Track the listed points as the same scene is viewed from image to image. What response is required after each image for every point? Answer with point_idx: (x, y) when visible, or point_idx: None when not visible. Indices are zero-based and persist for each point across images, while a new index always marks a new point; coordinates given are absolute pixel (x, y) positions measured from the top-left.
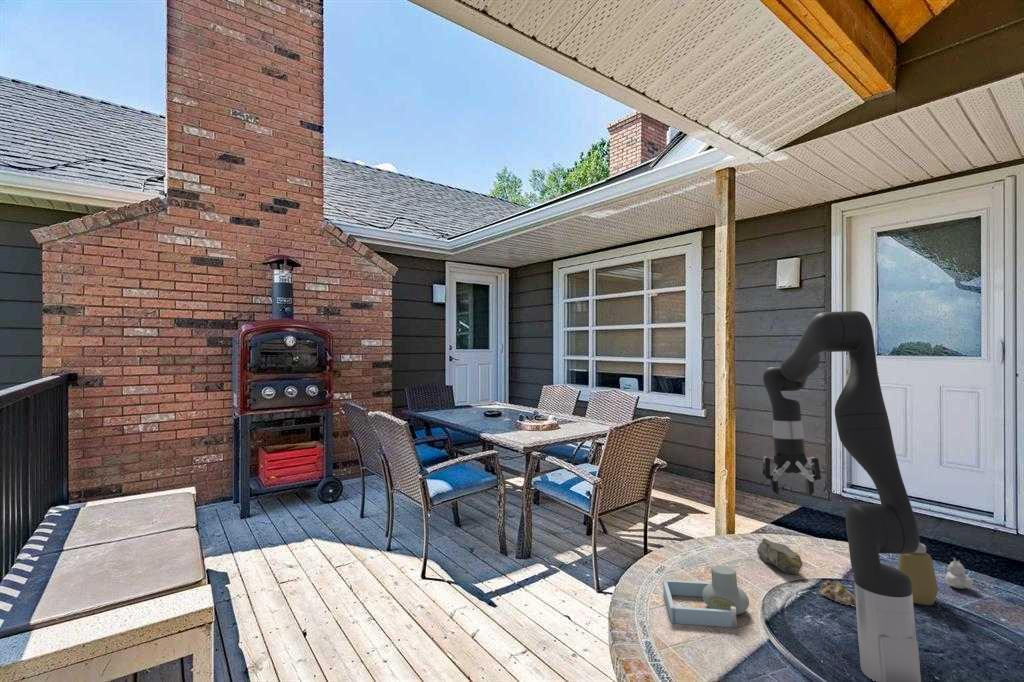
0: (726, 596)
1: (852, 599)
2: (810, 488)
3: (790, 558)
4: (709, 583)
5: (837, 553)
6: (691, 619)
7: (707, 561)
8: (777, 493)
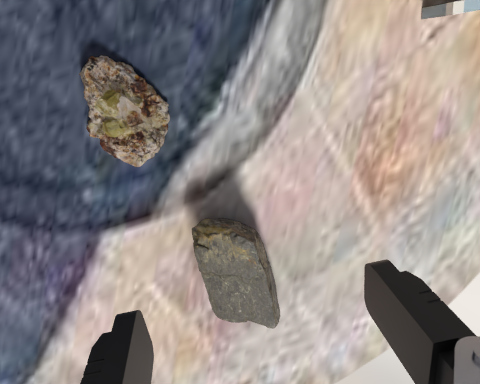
0: None
1: (92, 60)
2: (115, 354)
3: (222, 231)
4: (476, 1)
5: None
6: None
7: (401, 232)
8: (379, 262)
